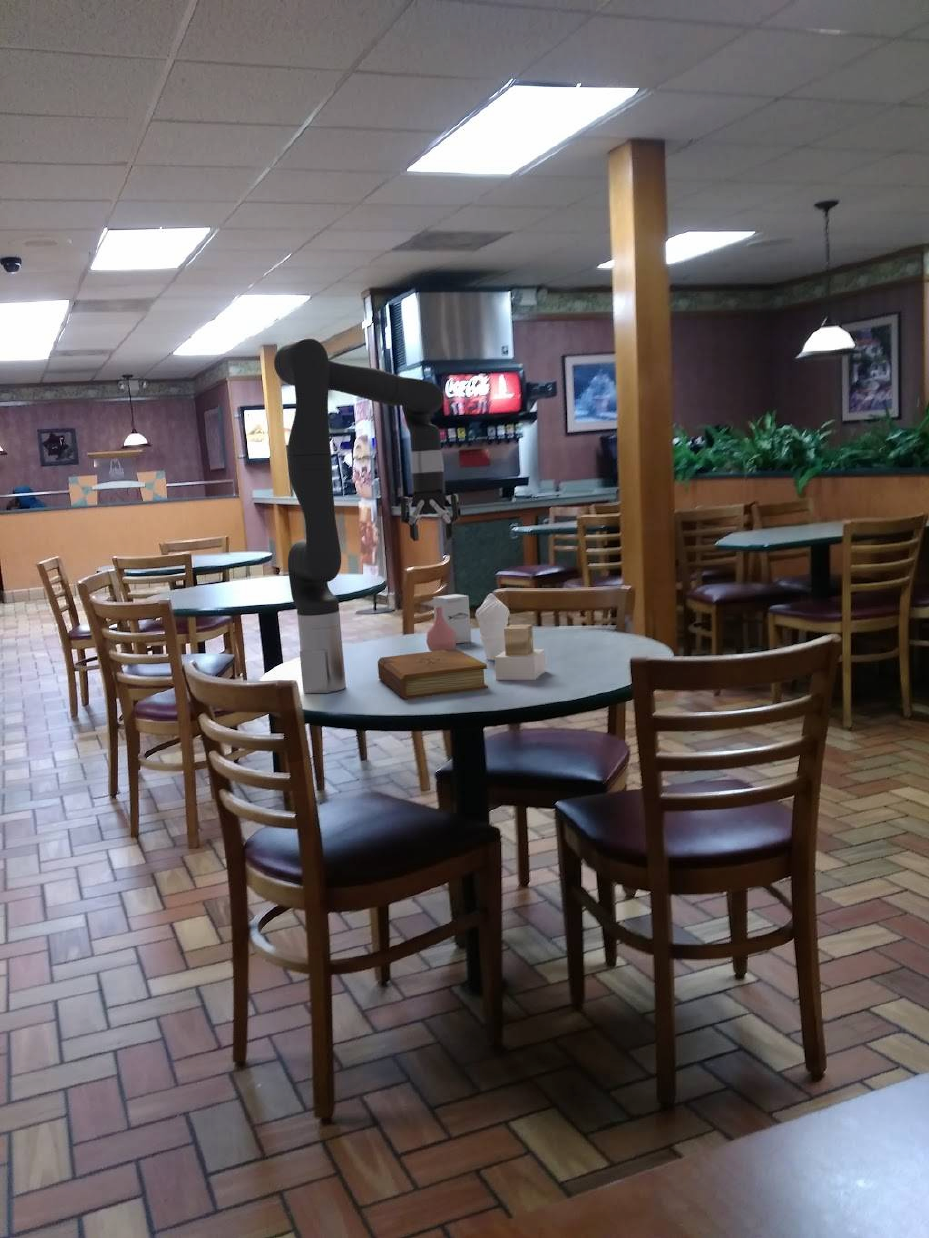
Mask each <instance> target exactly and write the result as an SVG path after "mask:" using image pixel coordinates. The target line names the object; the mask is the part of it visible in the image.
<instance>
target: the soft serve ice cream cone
mask: <svg viewBox="0 0 929 1238" xmlns="http://www.w3.org/2000/svg"><path fill="white" fill-rule="evenodd" d="M475 611H476V612H475V618H476V621H477V624H478V626H479V633H480V639H481V642H482V646H483V650H484V654H485V658H486V660H489V661H495V657H496V656H497V655H499V654H500V653H502V652H503V651H505V638H504V628H506V627H508V623H509V619H508V618H510V617H509V616H510V610H509V608H508V606H506V604H504V603H503V602H502V601H501V600H500V599H499V598H498V597H497V596H496V595H494V593H489V594H488V595H486V598H485V599H484V600H483V603H482V604H481V605H480V606H479V607H478V608H477V609H476V610H475Z"/></svg>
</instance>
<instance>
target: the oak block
mask: <svg viewBox="0 0 929 1238" xmlns="http://www.w3.org/2000/svg"><path fill="white" fill-rule="evenodd" d="M533 636H534V635H533V624H509V625H507V627H506V628H504V638H505V653H506V655H529V654H530V653H532V652H533V651H534V649H535V648H534V637H533Z"/></svg>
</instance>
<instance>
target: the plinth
mask: <svg viewBox="0 0 929 1238" xmlns="http://www.w3.org/2000/svg"><path fill="white" fill-rule="evenodd" d="M533 649H534V651H533V652H532V653H530V654H529V655H506V653H505V651H503V652H502V653H500V654H499V655H497V656H496V657H495V660H494V666H495V667H494V668H495V669H494V670H495V680H500V681H501V680H502V681H503V680H505V681H511V680H513V681H517V680H518V681H519V680H520V681H522V680H523V681H532V680H533V681H535V680H537V679H539V678H540V677H541V676H542V675H543V674H545V673H546V672H547V667H546V666H547V665H546V649H545V648H543V649H542V648H541V649H540V648H539V649H538V648H533ZM542 673H543V674H542ZM541 674H542V675H541ZM540 675H541V676H540ZM539 676H540V677H539Z"/></svg>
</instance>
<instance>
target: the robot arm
mask: <svg viewBox="0 0 929 1238" xmlns="http://www.w3.org/2000/svg"><path fill="white" fill-rule="evenodd" d="M273 366H274V369H275V373H276V375H277V376H278V377H279V379H280V380H281V381H283V382H284V383H286V384H288V385H290V386H294V392H295V393H294V394H295V412H294V417H293V421H292V425H291V430H290V433H289V437H288V438H289V439H288V443H287V444H288V445H287V462H288V465H287V466H288V475H289V481H290V484H291V487H292V490H293V492H294V495H295V497H296V499H297V501H298V503H299V505H300V508H301V510H302V514H303V519H304V523H305V539H302V540H298V541H296V542H295V543H293V545H292V546H291V548H290V550H289V552H288V557H287V571H288V577H289V587H290V592H291V597H292V601H293V604H294V605H295V608H296V615H297V623H298V624H297V627H298V638H299V647H300V651H299V661H300V670H301V681H302V690H303V691H302V692H303V694H330V693H333V692H338V691H340V690H341V691H342V690H343V689H345V688H346V687H347V681H346V671H345V670H346V669H345V661H344V650H343V637H342V627H341V626H342V625H341V623H342V622H341V616H340V615H341V613H340V602H339V599H338V597H336V595H334V594H333V592H332V591H331V590H330V587H329V585H328V583H329V582H331V581H333V580H334V579H335V578H336V577H337V576H338V575H339V573H340V570H341V568H342V552H341V551H342V550H341V544H340V539H339V532H338V526H337V521H336V510H335V496H334V486H333V483H334V482H333V462H332V449H331V440H330V439H331V438H330V419H329V418H330V417H329V391H330V390H331V391H336V392H340V393H343V394H344V393H345V394H348V395H350V396H351V395H352V396H355V397H359V398H362V399H365V400H369V401H372V402H375V403H379V404H382V405H386V406H391V407H398V406H401V408H402V409H401V410H402V414H403V417H404V420H405V424H406V426H407V429H408V432H409V438H410V451H411V454H410V456H411V457H410V466H411V468H410V469H411V481H412V482H411V483H412V493H413V495H412V497H408V496H403V497H401V498H400V518H401V520H400V521H401V523H402V524H407V525H408V526H409V534H410V535H409V538H411V539H412V541H413V542H418V541H419V525H418V524H417V523H418V522H419V520H420V519H421V518H422V516H424V515H426V516H427V515H439V516H440V517H442V518H443V520H444V521H445V522H446V523H445V535H446V540H448V541H450V540H453V537H455V522H457V521H459V520H461V519H462V511H461V503H460V496H459V494H458V493H453V494H451V495H450V494H449V495H447V494H446V483H445V482H446V481H445V470H444V469H445V465H444V459H443V454H442V444H441V443H442V441H441V432H440V428H439V427H438V426H437V425H435V424H432V421H431V418H430V414H433V413H436V412H437V411H440V409H441V408H442V406H443V405H444V402H445V401H444V399H445V396H444V393H443V391H442V389H441V388H440V386H439V385H437V384H436V383H434V382H432V381H429V380H425V379H420V378H414V377H405V376H401V375H398V374H395V373H392V372H389V371H385V370H382V369H379V368H375V367H370V366H369V367H368V366H363V365H356V364H355V365H354V364H348V363H342V362H337V361H333V360H330V359H329V356H328V353H327V351H326V348H325V347H324V346H323V343H321V342H320V341H318V340H317V339H315V338H310V337H307V338H301V339H298V340H295V341H291V342H288V343H286V344H284V345H283V346H281V347H280V348H279V349H278V350H277V352H276V354H275V356H274V358H273ZM412 503H413V506H415V509H414V510H413V513H412V515H411V517H410V513H411V512H410V511H411V510H410V507H411V506H412ZM446 503H449V504H450V505H451V511H452V514H451V513H450V511H449V510H448V508H447V507H446V506H445V505H446Z"/></svg>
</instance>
